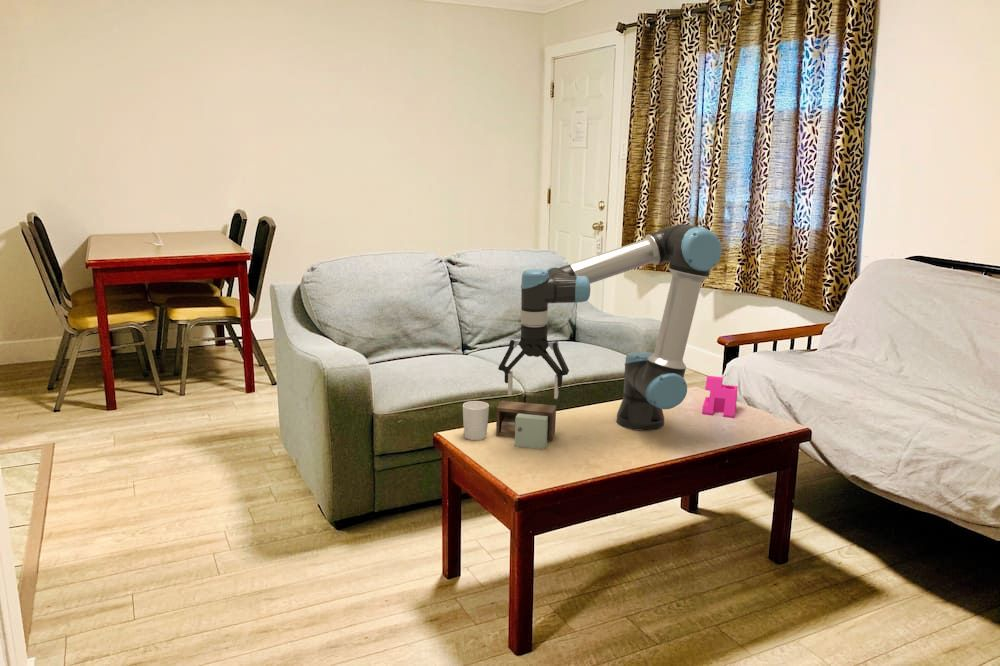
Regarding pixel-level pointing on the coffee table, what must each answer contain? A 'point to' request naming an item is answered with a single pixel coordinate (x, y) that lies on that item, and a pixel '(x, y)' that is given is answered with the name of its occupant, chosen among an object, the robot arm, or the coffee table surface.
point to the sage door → (531, 431)
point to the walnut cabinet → (511, 409)
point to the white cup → (475, 419)
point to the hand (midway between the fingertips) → (533, 395)
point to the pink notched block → (720, 397)
